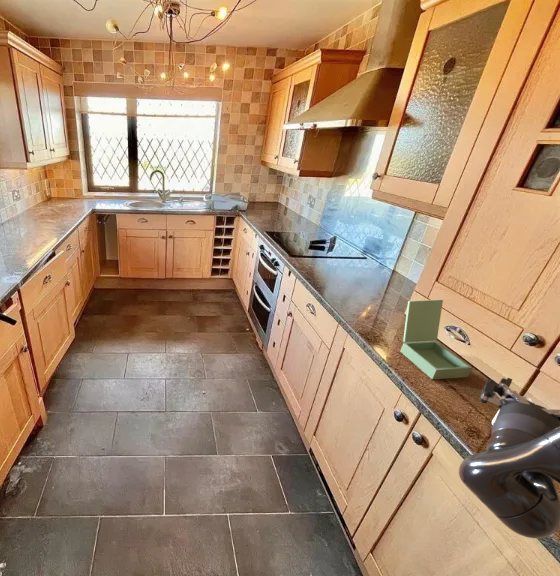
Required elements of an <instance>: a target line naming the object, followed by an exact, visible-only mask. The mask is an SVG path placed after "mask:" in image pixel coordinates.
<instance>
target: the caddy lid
mask: <svg viewBox="0 0 560 576" xmlns="http://www.w3.org/2000/svg"><path fill="white" fill-rule="evenodd" d="M443 302H444V299H439V298H438V299H423V300H422V299H421V300H407V307H406V315H405V324H404V331H403V338H402V342H403V343H408V342H426V341H438V338H439V337H438V336H439V330H440V322H441V316H442V309H443Z"/></svg>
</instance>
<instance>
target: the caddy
mask: <svg viewBox="0 0 560 576" xmlns="http://www.w3.org/2000/svg"><path fill="white" fill-rule="evenodd" d="M402 343H403V344H402V346H401V349H400V353H401V354H402V355H404V356H405V357H406V358H407V359H408V360H409V361H410V362H411V363H413V364H414V365H415V366H416V367H417V368H418V369H419V370H421V371H422V372H423V373H424V374H425V375H427V377H429V378H430V379H431V380H443V379H459V378H461V379H462V378H468V377H469V375H470V373H471V371H472V369H473V366H471V365H469V364H468V363H467V362H465V361H464V360H463V359H461V358H460V357H459V356H457V355H456V354H454V353H453V352H452V351H451V350H449V349H448V348H446V347H444V345H442V344H441V343H439V342H438V341H437V340H432V341H414V342H402Z"/></svg>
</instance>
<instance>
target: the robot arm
mask: <svg viewBox="0 0 560 576" xmlns="http://www.w3.org/2000/svg"><path fill="white" fill-rule="evenodd" d="M512 381H513V378H510V377H507V378H504V377H503V378H501V380H500V381H499V383H497V382H496V381H495V380H492V379H489V378H488V379H487V380H486V382H485V384H484V386H483V387H482V389H481V393H480V396H479V399H478V401H479V402H480V403H483V404H487V403H488V402H489V403H491V404H494V405H495V406H497V408H498V411H499V409H500V411H499V413H498V415H497V418H496V420H495V422H494V423H493V425H492V424H491V432H490V437H489V440H488V442H487V444H486V447H485V451H481V452H477V453H474V454H471V455H469V456H467V457H465V458H464V459H463V460H462V461H461V463H460V465H459V468H458V477H459V478H460V481H461V482H462V483H463V484H464V486H465V487H466V488H467V489H468V490H469V491H470V492H471V493H472V494H473V496H475V497H476V498H477V499H478V500H479V501H480V502H481V503H482V504H483V505H484V506H485V507H486V508H487V509H488V510H489V511H490V512H491V513H492V514H493V515H494V516H495V517H496V518H497V519H498V520H499V521H500V522H501V523H502V524H503V525H504V526H506V527H507V528H508V529H509V530H510V531H512V532H514V533H516V534H517V535H519V536H523V537H524V538H529V539H544V538H548V537H550V536H552V535H553V534H555V532H557V531H558V529H559V528H560V497H559V494H558V491H557V488H556V485H555V482H556V483H558V484H560V409H548V408H546V407H544V406H542V405H539V404H536V403H535V402H534V403H532V402H530V401H528V400H525V399H523V398H522V397H523V396H522V395H520V394H519V393H518V391H516V390H513V389H511V388H510V387H511V384H512Z"/></svg>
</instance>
